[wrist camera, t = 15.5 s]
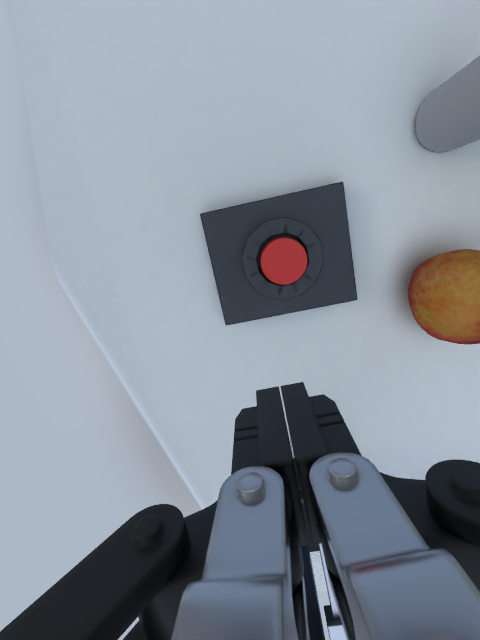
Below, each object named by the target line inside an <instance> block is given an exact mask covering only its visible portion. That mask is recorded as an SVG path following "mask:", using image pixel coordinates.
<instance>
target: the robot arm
mask: <svg viewBox="0 0 480 640" xmlns="http://www.w3.org/2000/svg"><path fill="white" fill-rule="evenodd" d="M281 391H282V396H283V401H284V406H285V411H286V416H287V421H288V426H289V431H290V436H291V441H292V446H293V451H294V456H295V461H296V466H297V471H298V476H299V481H300V486H301V491H302V496H303V501H304V506H305V511H306V515H307V520H308V525H309V530H310V535H311V540H312V545H313V544H320V543H321V545H322V549H323V554H324V558H325V562H326V568H327V573H328V578H329V582H330V586H331V589H332V592H333V596H334V599H335V602H336V605H337V609H338V612H339V615H340V618H341V622H342V625H343V628H344V632H345V635H346V638H347V640H480V463H477V462H472V461H467V460H447V461H442V462H439V463H437V464H435V465H433V466H432V467H431V468H430V469H429V470H428V472H427V474H426V480H415V479H404V478H396V477H392V476H389V475H386V474H383V473H381V472H379V471H378V470H377V468H376V467H375V466H374V464H373V463H372V462H370V461H369V460H368V459H366V458H364V457H362V456H361V454H360V452H359V450H358V448H357V446H356V444H355V442H354V440H353V438H352V436H351V434H350V432H349V430H348V428H347V426H346V424H345V423H344V420H343V418H342V416H341V414H340V412H339V410H338V408H337V406H336V404H335V402H334V401H333V400H331V399H330V398H328V397H326V396H325V395H318V396H312V397H308V394H307V391H306V389H305V386H304V383H303V382H301V383H295V384H290V385H284V386H281ZM256 396H257V406H256V407H251V408H245V409H242V410H241V412H240V413H239V415H238V416H237V418H236V419H235V432H234V445H233V458H232V472H231V476H229V477H228V478H227V479H226V481H225V482H224V483H223V485H222V487H221V489H220V493H219V498H218V500H217V501H216V502H215V503H214V504H212V505H211V506H209V507H207V508H205V509H203V510H201V511H198V512H196V513H194V514H192V515H189V516H187V517H185V518H183V515H182V513H181V511H180V510H179V509H178V508H177V507H175V506H172V505H169V504H159V505H154V506H151V507H148V508H146V509H144V510H142V511H140V512H138V513H137V514H135V515H134V516H133V517H131V518H130V519H129V520H128V521H127V522H125V523H124V524H123V525H122V526H121V527H120V528H119V529H117V530H116V531H115V532H114V533H113V534H112V535H111V536H109V537H108V538H107V539H106V540H105V541H104V542H103V543H102V544H100V545H99V546H98V547H97V548H96V549H95V550H93V551H92V552H91V553H90V554H89V555H88V556H87V557H85V558H84V559H83V560H82V561H81V562H80V563H79V564H77V565H76V566H75V567H74V568H73V569H72V570H71V571H70V572H68V573H67V574H66V575H65V576H64V577H63V578H61V579H60V580H59V581H58V582H57V583H56V584H54V585H53V586H52V587H51V588H50V589H49V590H48V591H46V592H45V593H44V594H43V595H42V596H41V597H40V598H38V599H37V600H36V601H35V602H34V603H33V604H31V605H30V606H29V607H28V608H27V609H26V610H25V611H23V612H22V613H21V614H20V615H19V616H18V617H17V618H15V619H14V620H13V621H12V622H11V623H10V624H9V625H7V626H6V627H5V628H4V629H3V630H2V631H1V632H0V640H118V639H119V637H120V636H121V635H122V634H123V633H124V632H125V631H126V629H127V628H128V627H129V626H130V625H131V624H132V622H134V620H135V619H136V618H137V617H139V622H138V623H137V624H136V625H135V626H134V627H133V628H132V630H131V631H130V632H129V633H128V634H127V635H126V636H125V638H124V639H123V640H309V629H308V617H307V605H306V593H305V583H304V578H303V573H304V563H303V557H302V551H301V546H308V545H309V540H308V535H307V529H306V524H305V519H304V514H303V509H302V503H301V498H300V493H299V488H298V483H297V477H296V472H295V467H294V462H293V457H292V451H291V446H290V441H289V436H288V431H287V426H286V421H285V416H284V411H283V406H282V401H281V396H280V391H279V387H273V388H268V389H262V390H257V391H256Z"/></svg>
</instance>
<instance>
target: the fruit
mask: <svg viewBox="0 0 480 640" xmlns="http://www.w3.org/2000/svg"><path fill="white" fill-rule="evenodd" d="M408 297H409V303H410V307H411V310H412V313H413V316H414V318H415V320H416V322H417V323H418V324H419V325H420V326H421V328H422V329H423V330H425V331H426V332H427V333H428V334H429V335H431V336H433V337H435V338H437V339H440V340H444V341H448V342H453V343H458V344H478V343H480V251H477V250H471V249H464V250H455V251H450V252H446V253H443V254H439V255H437V256H435V257H432V258H430V259H429V260H427V261H425V262H423V263H422V264H421V265H420V266H419V267H418V268H417V269H416V270H415V271H414V273H413V275H412V277H411V279H410V283H409V288H408Z"/></svg>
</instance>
